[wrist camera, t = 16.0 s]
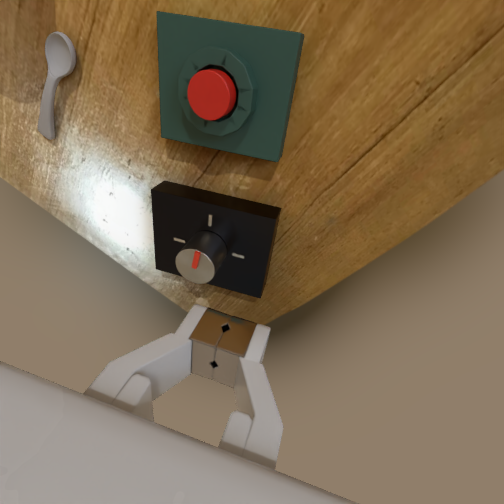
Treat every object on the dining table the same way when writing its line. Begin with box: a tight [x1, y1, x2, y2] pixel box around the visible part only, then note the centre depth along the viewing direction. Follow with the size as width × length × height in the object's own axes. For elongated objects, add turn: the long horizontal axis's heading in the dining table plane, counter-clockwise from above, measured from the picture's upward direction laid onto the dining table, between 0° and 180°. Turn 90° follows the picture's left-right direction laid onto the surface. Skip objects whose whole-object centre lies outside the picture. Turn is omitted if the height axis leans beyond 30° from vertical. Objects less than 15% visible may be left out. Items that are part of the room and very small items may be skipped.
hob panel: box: [151, 181, 281, 298], centre depth 36 cm, size 14×11×3 cm
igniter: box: [157, 11, 304, 162], centre depth 27 cm, size 12×10×4 cm
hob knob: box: [176, 231, 227, 284], centre depth 33 cm, size 4×4×4 cm
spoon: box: [38, 32, 76, 140], centre depth 32 cm, size 3×12×2 cm, turn 143°
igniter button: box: [188, 69, 236, 120], centre depth 25 cm, size 4×4×2 cm
